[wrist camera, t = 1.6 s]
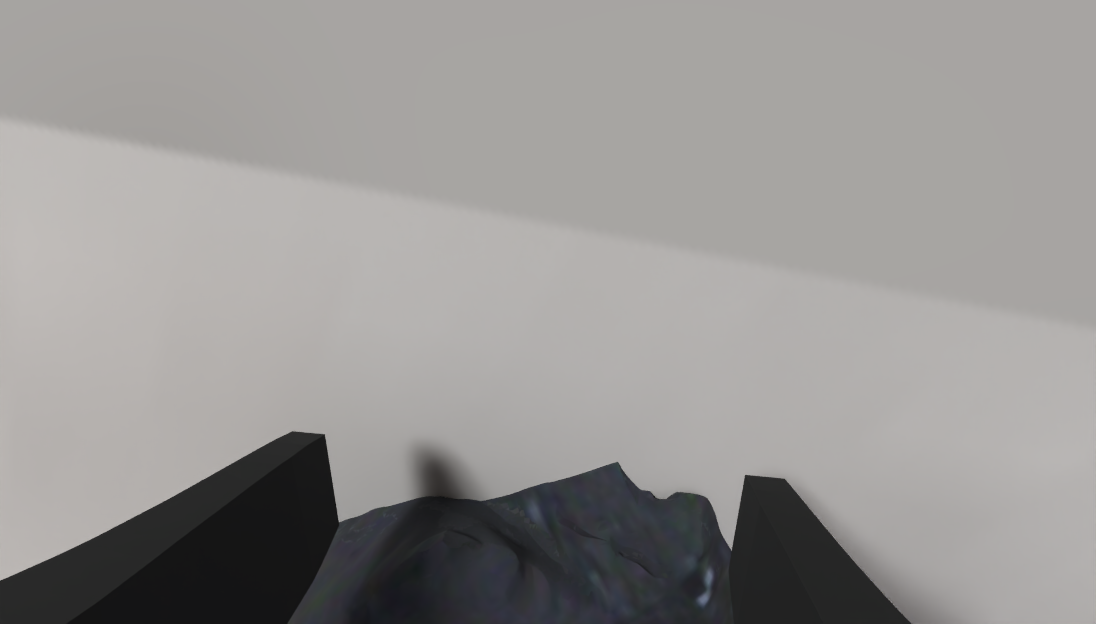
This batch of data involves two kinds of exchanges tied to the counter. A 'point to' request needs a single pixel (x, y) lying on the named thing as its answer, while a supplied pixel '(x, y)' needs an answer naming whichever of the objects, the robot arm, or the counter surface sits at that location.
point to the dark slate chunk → (529, 560)
